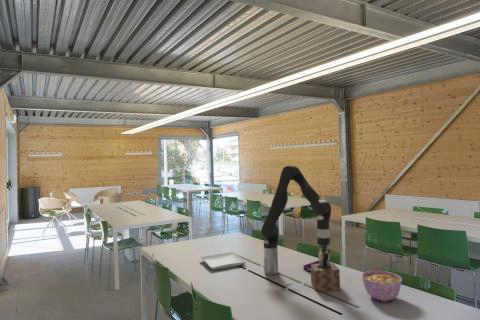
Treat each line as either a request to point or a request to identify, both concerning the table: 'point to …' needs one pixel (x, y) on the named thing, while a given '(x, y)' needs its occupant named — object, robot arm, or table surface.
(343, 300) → the table surface
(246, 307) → the table surface
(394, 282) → the bowl of food
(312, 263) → the mounting bracket
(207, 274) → the table surface
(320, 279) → the patterned tissue box
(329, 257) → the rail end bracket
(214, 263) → the square plate
